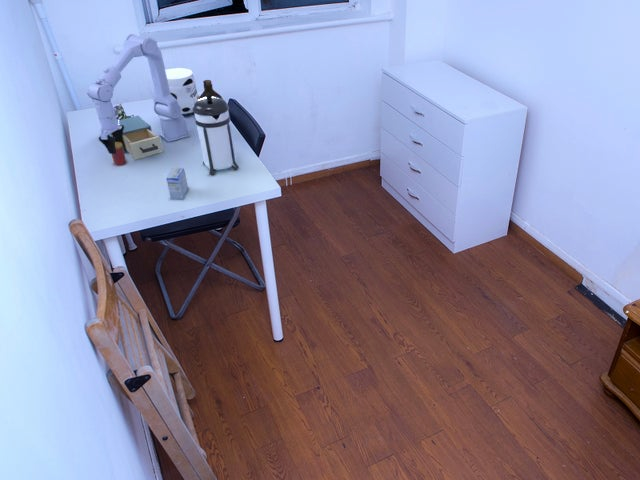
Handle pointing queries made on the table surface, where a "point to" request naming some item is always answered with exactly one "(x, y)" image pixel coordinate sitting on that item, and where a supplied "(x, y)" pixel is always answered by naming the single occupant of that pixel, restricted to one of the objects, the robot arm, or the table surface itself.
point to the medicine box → (177, 183)
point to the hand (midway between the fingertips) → (116, 148)
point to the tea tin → (119, 155)
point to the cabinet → (133, 126)
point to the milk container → (183, 88)
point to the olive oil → (209, 90)
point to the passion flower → (120, 112)
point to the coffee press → (215, 133)
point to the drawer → (142, 143)
